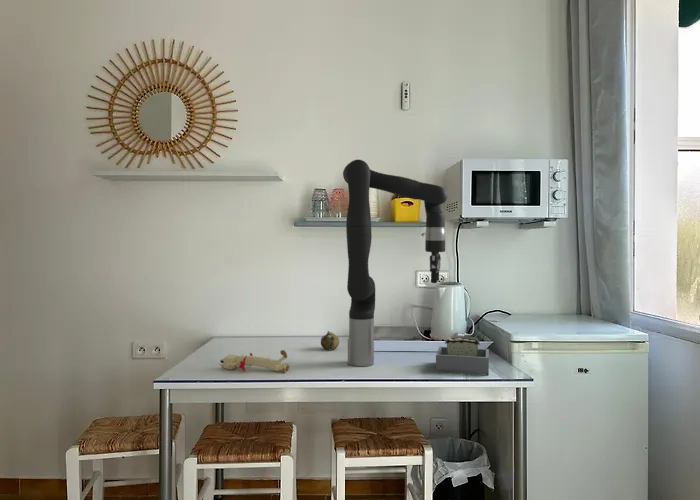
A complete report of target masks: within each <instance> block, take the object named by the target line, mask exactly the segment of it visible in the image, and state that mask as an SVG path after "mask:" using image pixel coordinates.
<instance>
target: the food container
mask: <svg viewBox="0 0 700 500" xmlns="http://www.w3.org/2000/svg"><path fill="white" fill-rule="evenodd" d="M445 344H446V347H447V352H448V355H455V356H473V357H477V351H478V349H479V346H481V343H480V340H479V338H477V337H474V336H467V335H451V336H447V337H446V338H445V341H444V345H445Z"/></svg>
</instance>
